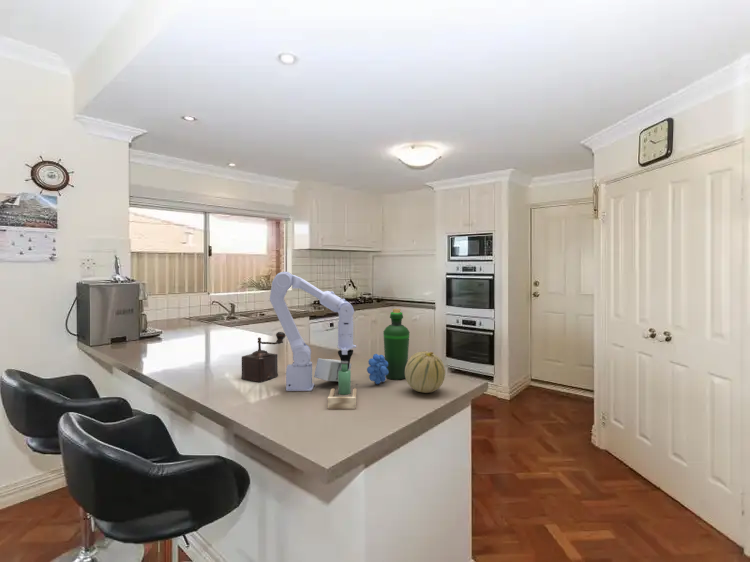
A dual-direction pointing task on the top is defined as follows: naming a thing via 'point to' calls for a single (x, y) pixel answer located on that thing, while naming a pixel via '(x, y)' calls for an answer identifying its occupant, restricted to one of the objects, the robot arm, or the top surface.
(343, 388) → the green bottle
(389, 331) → the bottle
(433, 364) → the cantaloupe
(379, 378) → the grapes
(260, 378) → the manual coffee grinder
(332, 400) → the beech rest
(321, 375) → the supplement box
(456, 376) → the top surface
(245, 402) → the top surface
